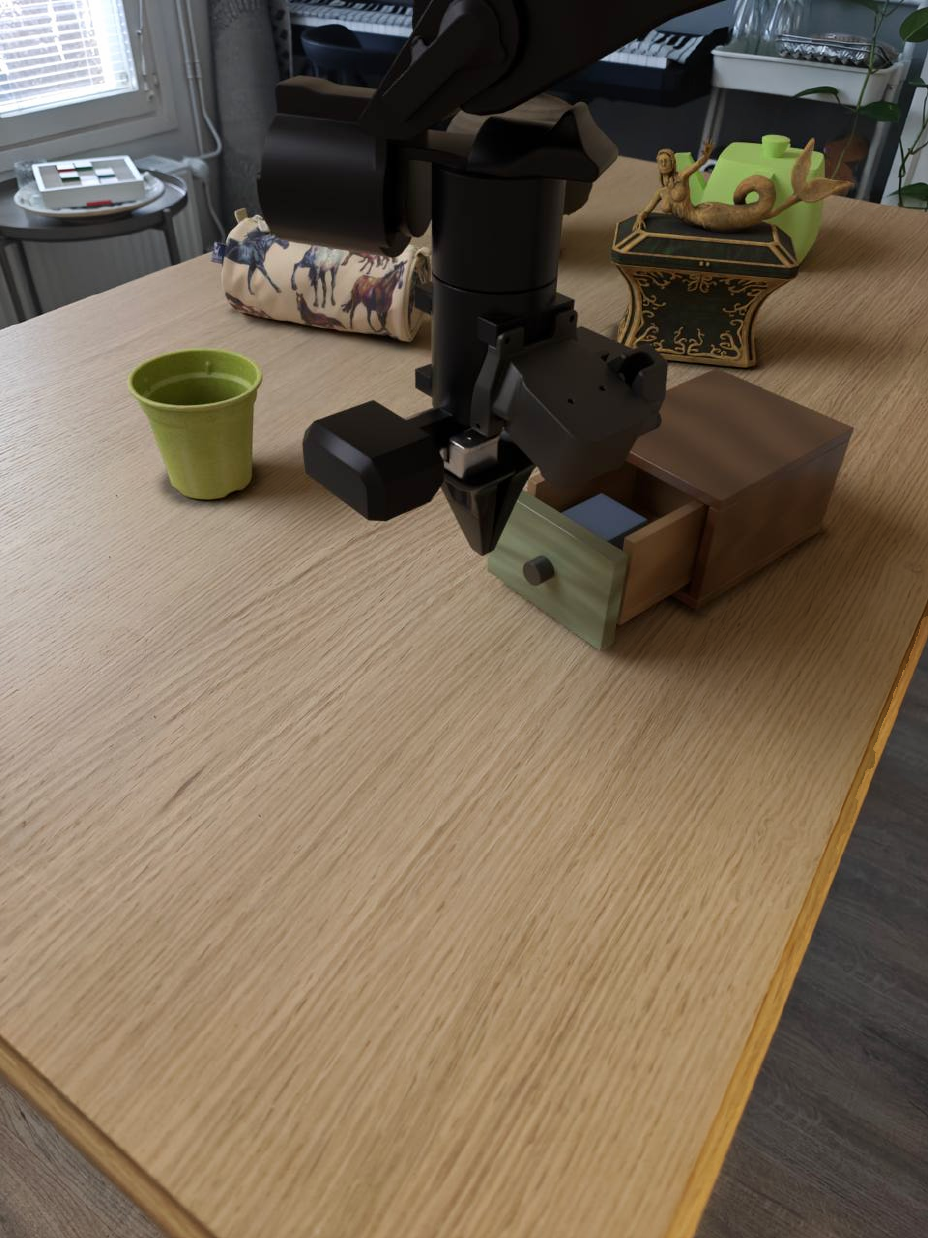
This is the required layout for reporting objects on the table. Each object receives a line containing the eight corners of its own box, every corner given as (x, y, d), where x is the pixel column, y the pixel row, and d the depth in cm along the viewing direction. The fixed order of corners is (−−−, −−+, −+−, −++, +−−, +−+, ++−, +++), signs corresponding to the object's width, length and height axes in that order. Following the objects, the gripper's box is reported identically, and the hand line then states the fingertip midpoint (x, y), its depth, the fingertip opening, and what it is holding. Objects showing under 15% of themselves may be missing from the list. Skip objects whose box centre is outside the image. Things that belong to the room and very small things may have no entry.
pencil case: (215, 322, 94) (200, 223, 88) (257, 294, 101) (246, 198, 94) (414, 359, 89) (413, 256, 83) (445, 326, 95) (447, 228, 89)
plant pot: (281, 449, 76) (270, 348, 70) (266, 514, 68) (252, 407, 63) (165, 448, 75) (144, 346, 70) (137, 513, 68) (111, 405, 62)
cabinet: (695, 610, 61) (722, 500, 56) (569, 531, 68) (582, 426, 62) (819, 531, 69) (854, 427, 63) (695, 467, 75) (717, 367, 70)
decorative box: (597, 358, 90) (625, 136, 78) (603, 320, 98) (630, 110, 85) (808, 380, 88) (873, 154, 75) (798, 339, 95) (856, 126, 82)
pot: (504, 210, 123) (521, 37, 109) (609, 258, 114) (644, 77, 100) (404, 244, 113) (410, 58, 99) (512, 299, 105) (535, 105, 91)
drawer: (586, 660, 56) (600, 570, 51) (473, 577, 62) (476, 490, 57) (735, 568, 63) (758, 482, 59) (621, 502, 69) (634, 420, 65)
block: (638, 569, 61) (648, 519, 58) (597, 593, 59) (605, 542, 56) (594, 542, 63) (601, 492, 61) (553, 564, 61) (558, 513, 59)
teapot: (642, 262, 111) (660, 143, 103) (679, 216, 125) (697, 108, 117) (799, 288, 106) (832, 165, 97) (819, 237, 120) (849, 125, 112)
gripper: (451, 394, 32) (446, 706, 43) (766, 277, 42) (701, 555, 52) (280, 297, 39) (311, 589, 49) (587, 215, 48) (560, 473, 58)
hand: (482, 550), depth 52 cm, fingers closed
